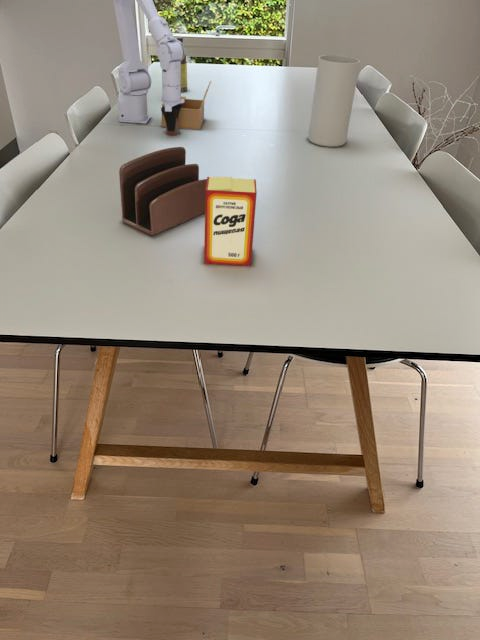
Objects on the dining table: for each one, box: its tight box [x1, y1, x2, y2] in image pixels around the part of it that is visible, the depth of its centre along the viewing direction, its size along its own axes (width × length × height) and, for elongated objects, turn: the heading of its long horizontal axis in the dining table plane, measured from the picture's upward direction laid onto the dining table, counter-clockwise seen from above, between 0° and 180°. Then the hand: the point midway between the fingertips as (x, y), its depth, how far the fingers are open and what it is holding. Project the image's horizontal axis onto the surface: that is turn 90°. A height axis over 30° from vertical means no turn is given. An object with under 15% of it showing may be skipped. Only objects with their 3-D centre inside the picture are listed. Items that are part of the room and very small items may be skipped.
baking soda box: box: [203, 176, 258, 267], centre depth 106 cm, size 10×6×16 cm
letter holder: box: [118, 146, 207, 237], centre depth 121 cm, size 10×20×14 cm, turn 141°
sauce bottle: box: [174, 35, 188, 93], centre depth 217 cm, size 6×6×20 cm
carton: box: [161, 96, 205, 130], centre depth 184 cm, size 13×13×7 cm
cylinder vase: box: [308, 54, 361, 148], centre depth 171 cm, size 12×12×25 cm
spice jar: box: [165, 117, 179, 136], centre depth 174 cm, size 4×4×5 cm
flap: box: [200, 80, 212, 108], centre depth 180 cm, size 6×13×1 cm
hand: (172, 128), depth 175 cm, fingers closed on spice jar, 4 cm apart
